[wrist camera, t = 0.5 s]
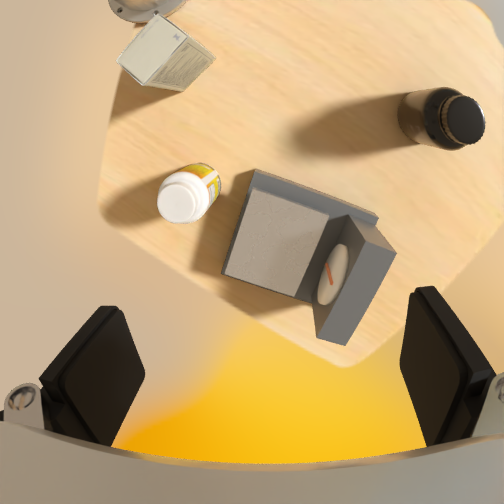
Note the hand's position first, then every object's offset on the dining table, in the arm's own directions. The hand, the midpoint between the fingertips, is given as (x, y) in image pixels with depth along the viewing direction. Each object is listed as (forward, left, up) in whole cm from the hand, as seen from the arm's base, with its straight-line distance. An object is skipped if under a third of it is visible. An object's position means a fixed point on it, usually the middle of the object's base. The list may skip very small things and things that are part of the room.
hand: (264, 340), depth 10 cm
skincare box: (-15, +10, -32) cm, 36 cm away
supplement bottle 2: (+14, +14, -32) cm, 37 cm away
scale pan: (+2, -7, -29) cm, 30 cm away
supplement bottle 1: (-9, -4, -32) cm, 33 cm away
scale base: (+5, -7, -31) cm, 33 cm away
